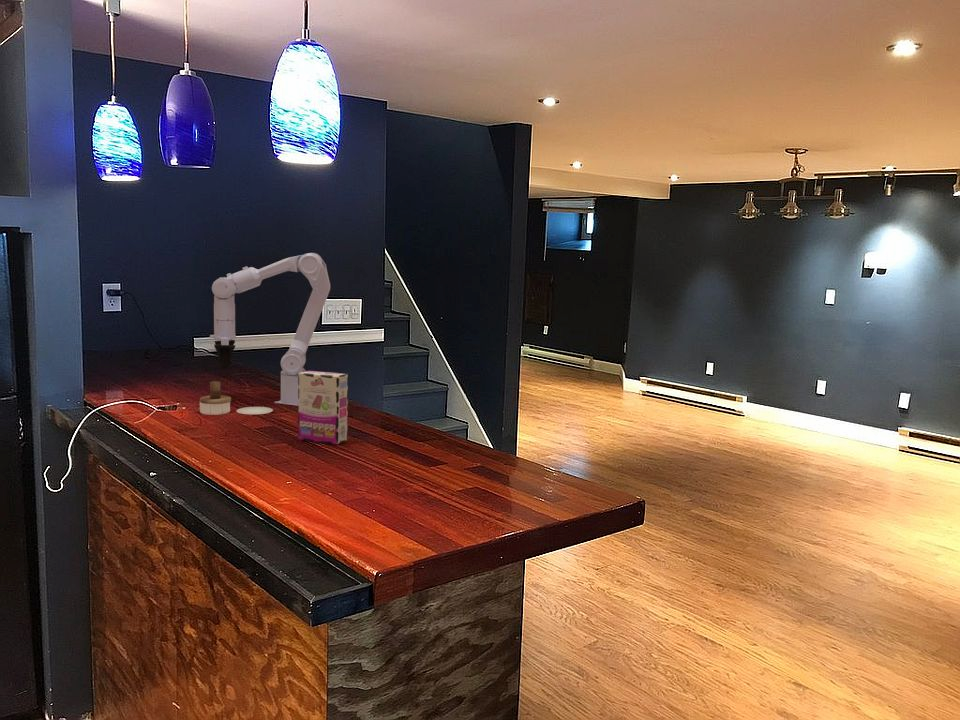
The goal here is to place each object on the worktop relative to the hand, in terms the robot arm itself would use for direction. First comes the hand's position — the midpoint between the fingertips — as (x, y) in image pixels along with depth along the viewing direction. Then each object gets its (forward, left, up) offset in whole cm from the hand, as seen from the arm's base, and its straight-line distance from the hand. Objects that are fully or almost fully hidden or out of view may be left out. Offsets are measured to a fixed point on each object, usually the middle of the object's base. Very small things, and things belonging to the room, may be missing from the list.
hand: (225, 367), depth 223 cm
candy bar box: (-47, +23, -11) cm, 53 cm away
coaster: (-15, +7, -10) cm, 19 cm away
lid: (-7, +13, -7) cm, 16 cm away
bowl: (-7, +13, -10) cm, 18 cm away
